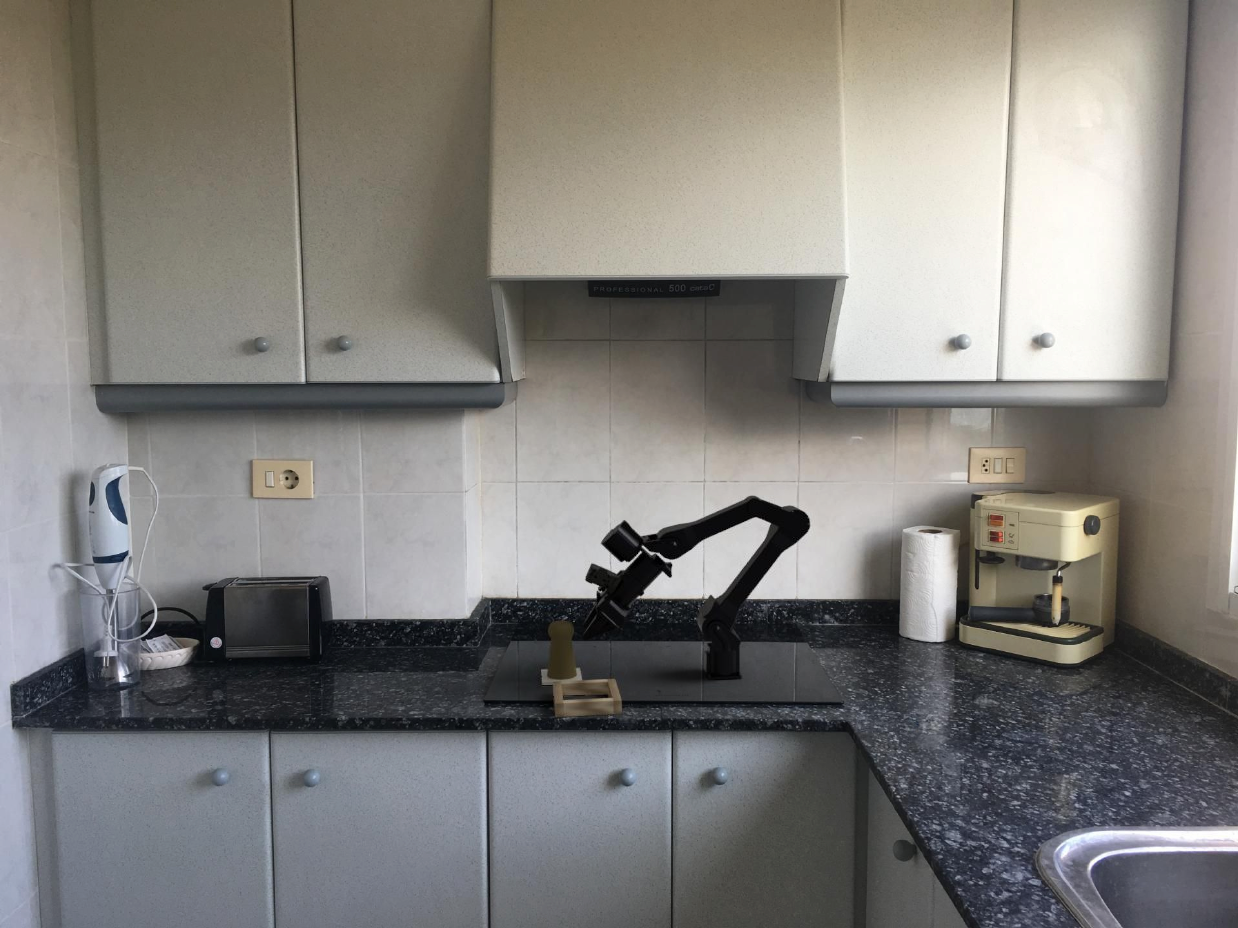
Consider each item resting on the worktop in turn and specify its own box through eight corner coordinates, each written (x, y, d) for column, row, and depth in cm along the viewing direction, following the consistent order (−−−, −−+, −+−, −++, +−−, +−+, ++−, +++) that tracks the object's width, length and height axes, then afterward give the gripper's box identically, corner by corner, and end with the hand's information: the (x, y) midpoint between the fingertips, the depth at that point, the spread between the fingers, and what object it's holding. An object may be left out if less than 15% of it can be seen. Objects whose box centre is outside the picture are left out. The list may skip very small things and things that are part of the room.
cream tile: (579, 671, 187) (579, 667, 187) (582, 684, 179) (582, 680, 179) (541, 673, 186) (541, 669, 186) (542, 686, 178) (542, 682, 178)
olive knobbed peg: (566, 681, 179) (565, 627, 178) (541, 676, 182) (540, 623, 181) (582, 672, 184) (581, 619, 183) (557, 668, 187) (556, 616, 186)
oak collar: (614, 691, 175) (614, 678, 175) (621, 713, 163) (621, 700, 163) (553, 694, 174) (552, 681, 173) (555, 716, 162) (555, 703, 162)
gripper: (607, 543, 190) (557, 595, 191) (608, 558, 172) (552, 617, 172) (645, 578, 191) (595, 631, 192) (650, 598, 172) (594, 656, 173)
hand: (583, 632), depth 182 cm, fingers open, 9 cm apart
